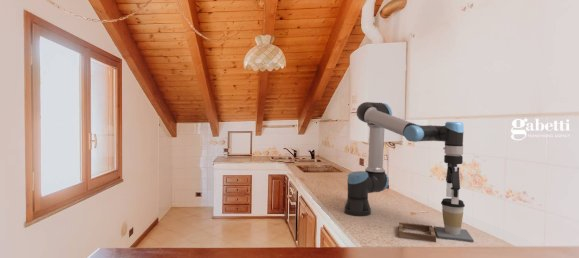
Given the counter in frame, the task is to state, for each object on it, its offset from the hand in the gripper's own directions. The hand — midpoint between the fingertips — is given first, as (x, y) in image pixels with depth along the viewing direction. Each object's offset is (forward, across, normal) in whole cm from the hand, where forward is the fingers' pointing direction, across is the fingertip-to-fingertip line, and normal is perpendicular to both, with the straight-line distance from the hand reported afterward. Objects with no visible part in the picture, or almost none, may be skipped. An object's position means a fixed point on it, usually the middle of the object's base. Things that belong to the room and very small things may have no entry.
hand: (452, 200), depth 140 cm
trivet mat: (+16, 0, +1) cm, 16 cm away
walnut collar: (+16, +6, -15) cm, 23 cm away
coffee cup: (+15, 0, 0) cm, 15 cm away
